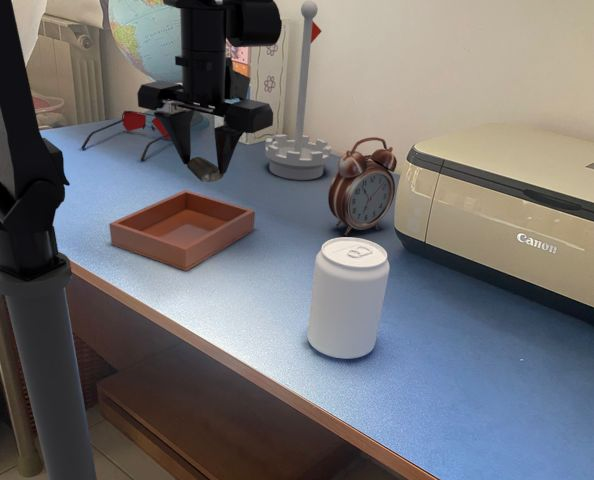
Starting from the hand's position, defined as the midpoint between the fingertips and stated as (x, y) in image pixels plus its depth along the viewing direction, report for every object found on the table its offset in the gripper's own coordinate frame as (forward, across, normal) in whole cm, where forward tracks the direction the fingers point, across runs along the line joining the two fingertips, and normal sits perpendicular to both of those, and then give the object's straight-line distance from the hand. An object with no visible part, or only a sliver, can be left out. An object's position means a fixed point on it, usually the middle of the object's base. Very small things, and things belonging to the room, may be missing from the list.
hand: (204, 168), depth 84 cm
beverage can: (+11, -30, +14) cm, 34 cm away
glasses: (+11, +38, -28) cm, 48 cm away
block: (+1, 0, 0) cm, 1 cm away
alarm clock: (+11, -18, -18) cm, 28 cm away
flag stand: (+11, +4, -37) cm, 39 cm away
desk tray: (+11, +2, +2) cm, 11 cm away
